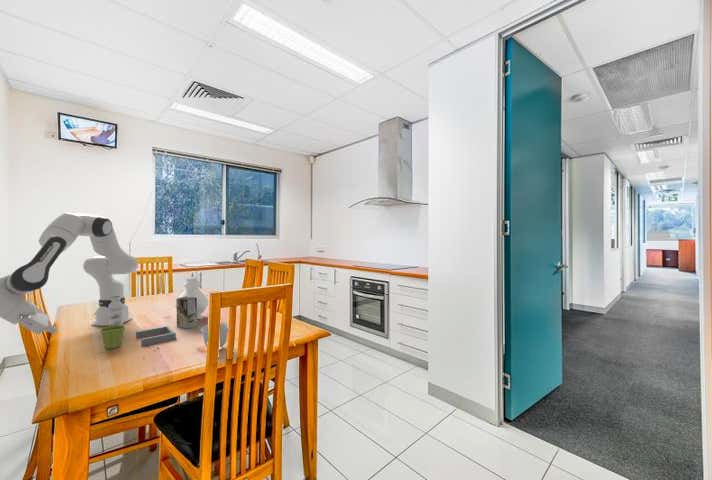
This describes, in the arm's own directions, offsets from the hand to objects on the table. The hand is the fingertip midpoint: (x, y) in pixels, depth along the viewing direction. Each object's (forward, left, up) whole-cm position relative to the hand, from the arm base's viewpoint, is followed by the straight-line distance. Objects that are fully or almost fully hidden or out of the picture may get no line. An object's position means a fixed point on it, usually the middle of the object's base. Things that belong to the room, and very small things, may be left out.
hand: (55, 331), depth 130 cm
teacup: (+33, +53, -11) cm, 63 cm away
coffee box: (-11, +53, -11) cm, 55 cm away
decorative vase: (-26, +60, -11) cm, 66 cm away
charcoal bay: (0, +36, -11) cm, 38 cm away
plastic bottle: (-18, +22, -11) cm, 30 cm away
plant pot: (0, +19, -11) cm, 22 cm away
